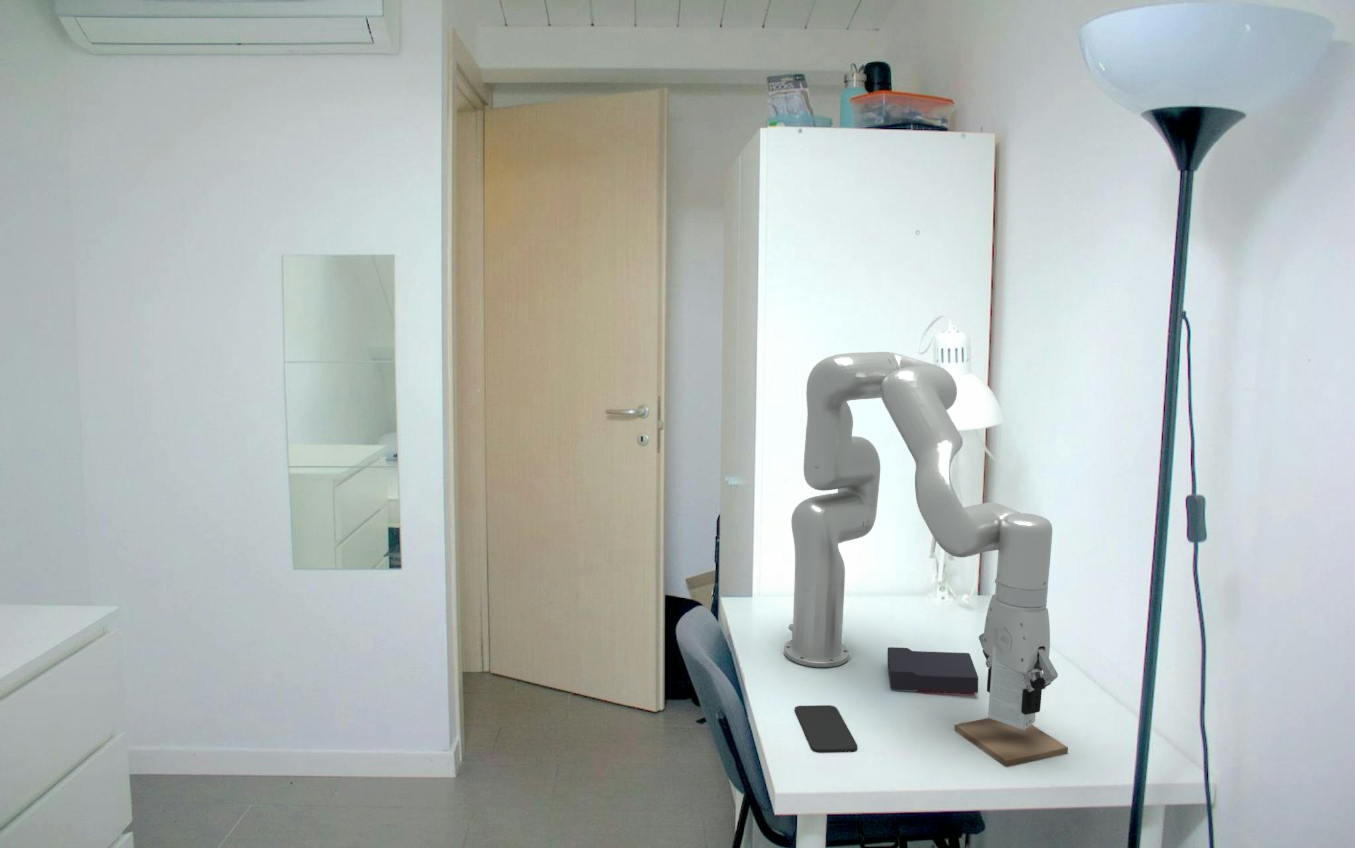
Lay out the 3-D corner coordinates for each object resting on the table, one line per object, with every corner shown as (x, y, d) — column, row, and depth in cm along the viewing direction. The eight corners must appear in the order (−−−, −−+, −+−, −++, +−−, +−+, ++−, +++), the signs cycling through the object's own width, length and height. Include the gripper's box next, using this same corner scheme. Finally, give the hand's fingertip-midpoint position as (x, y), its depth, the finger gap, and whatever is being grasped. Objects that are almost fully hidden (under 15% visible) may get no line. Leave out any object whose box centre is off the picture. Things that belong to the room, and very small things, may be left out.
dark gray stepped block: (969, 671, 169) (887, 668, 172) (969, 649, 168) (887, 646, 171) (978, 697, 158) (890, 693, 161) (978, 674, 158) (890, 671, 160)
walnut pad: (954, 730, 147) (954, 724, 147) (1013, 718, 151) (1013, 713, 151) (1005, 767, 136) (1006, 761, 136) (1067, 753, 140) (1068, 747, 140)
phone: (835, 705, 154) (859, 748, 139) (835, 709, 154) (859, 753, 140) (792, 705, 154) (812, 749, 139) (792, 710, 154) (812, 754, 139)
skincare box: (1035, 722, 142) (1041, 650, 140) (1023, 731, 139) (1029, 658, 138) (998, 709, 147) (1004, 639, 145) (986, 718, 144) (991, 646, 142)
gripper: (964, 579, 146) (957, 682, 149) (1043, 616, 130) (1034, 731, 133) (1001, 574, 149) (993, 676, 152) (1083, 610, 133) (1073, 723, 136)
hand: (1012, 701), depth 142 cm, fingers closed on skincare box, 7 cm apart
